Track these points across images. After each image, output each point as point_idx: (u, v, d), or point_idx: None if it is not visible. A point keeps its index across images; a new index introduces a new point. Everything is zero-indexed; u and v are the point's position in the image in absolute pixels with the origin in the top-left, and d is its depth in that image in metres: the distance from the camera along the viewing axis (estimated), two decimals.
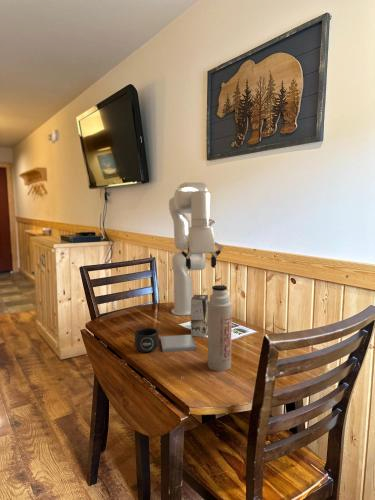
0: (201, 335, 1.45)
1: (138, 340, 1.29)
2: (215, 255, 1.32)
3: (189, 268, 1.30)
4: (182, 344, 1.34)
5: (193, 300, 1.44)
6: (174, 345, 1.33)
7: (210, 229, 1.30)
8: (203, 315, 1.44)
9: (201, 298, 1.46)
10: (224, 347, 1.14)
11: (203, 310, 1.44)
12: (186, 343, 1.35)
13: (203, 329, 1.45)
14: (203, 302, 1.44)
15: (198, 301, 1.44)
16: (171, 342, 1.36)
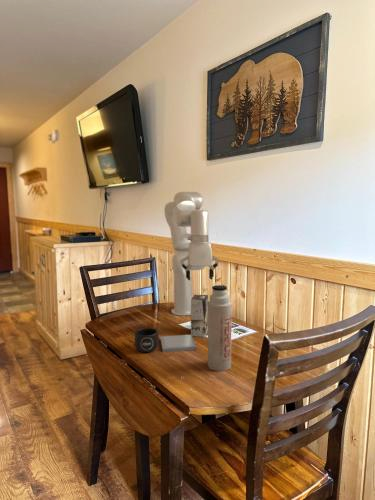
0: (201, 335, 1.45)
1: (138, 340, 1.29)
2: None
3: None
4: (182, 344, 1.34)
5: (193, 300, 1.44)
6: (174, 345, 1.33)
7: None
8: (203, 315, 1.44)
9: (201, 298, 1.46)
10: (224, 347, 1.14)
11: (203, 310, 1.44)
12: (186, 343, 1.35)
13: (203, 329, 1.45)
14: (203, 302, 1.44)
15: (198, 301, 1.44)
16: (171, 342, 1.36)
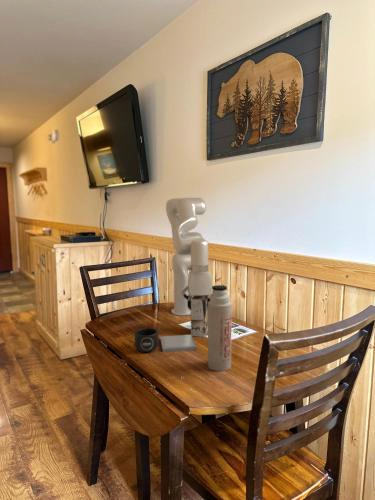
0: (201, 335, 1.45)
1: (138, 340, 1.29)
2: None
3: None
4: (182, 344, 1.34)
5: (193, 300, 1.44)
6: (174, 345, 1.33)
7: None
8: (203, 315, 1.44)
9: (201, 298, 1.46)
10: (224, 347, 1.14)
11: (203, 310, 1.44)
12: (186, 343, 1.35)
13: (203, 329, 1.45)
14: (203, 302, 1.44)
15: (198, 301, 1.44)
16: (171, 342, 1.36)
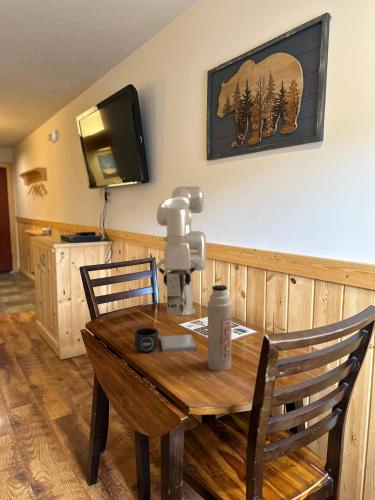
0: (178, 313, 1.31)
1: (138, 340, 1.29)
2: None
3: None
4: (182, 344, 1.34)
5: (169, 274, 1.30)
6: (174, 345, 1.33)
7: None
8: (180, 291, 1.30)
9: (178, 272, 1.32)
10: (224, 347, 1.14)
11: (180, 285, 1.30)
12: (186, 343, 1.35)
13: (180, 306, 1.31)
14: (180, 276, 1.30)
15: (175, 275, 1.30)
16: (171, 342, 1.36)
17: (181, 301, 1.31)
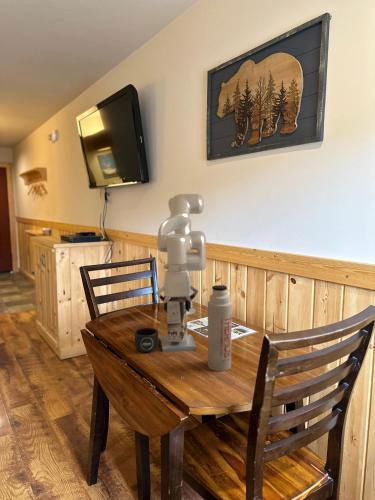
0: (178, 340, 1.33)
1: (138, 340, 1.29)
2: None
3: None
4: (182, 344, 1.34)
5: (169, 302, 1.32)
6: (174, 345, 1.33)
7: None
8: (180, 318, 1.32)
9: (178, 300, 1.33)
10: (224, 347, 1.14)
11: (180, 313, 1.31)
12: (186, 343, 1.35)
13: (180, 334, 1.32)
14: (180, 304, 1.31)
15: (175, 303, 1.31)
16: (171, 342, 1.36)
17: (181, 328, 1.32)
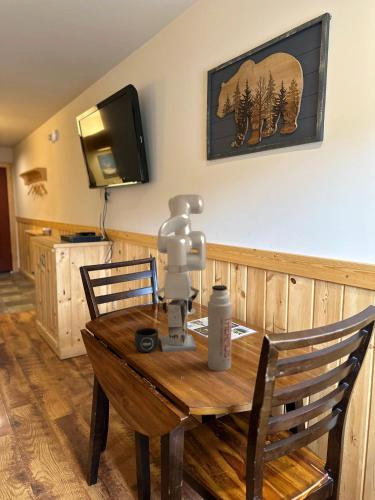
0: (179, 344, 1.33)
1: (138, 340, 1.29)
2: None
3: None
4: None
5: (170, 305, 1.32)
6: (174, 345, 1.33)
7: None
8: (181, 322, 1.32)
9: (179, 303, 1.33)
10: (224, 347, 1.14)
11: (181, 316, 1.32)
12: (186, 343, 1.35)
13: (182, 337, 1.33)
14: (181, 308, 1.31)
15: (176, 306, 1.32)
16: None
17: (182, 332, 1.32)
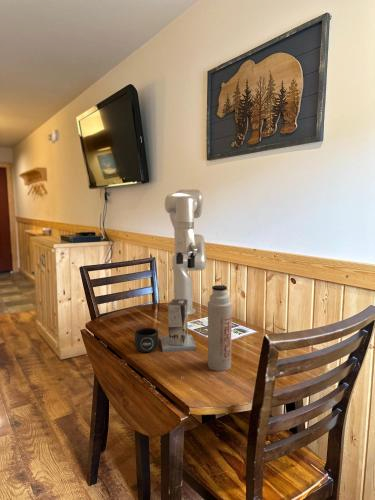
0: (179, 344, 1.33)
1: (138, 340, 1.29)
2: None
3: (194, 266, 1.44)
4: None
5: (170, 305, 1.32)
6: (174, 345, 1.33)
7: None
8: (181, 322, 1.32)
9: (179, 303, 1.33)
10: (224, 347, 1.14)
11: (181, 316, 1.32)
12: (186, 343, 1.35)
13: (182, 337, 1.33)
14: (181, 308, 1.31)
15: (176, 306, 1.32)
16: None
17: (182, 332, 1.32)
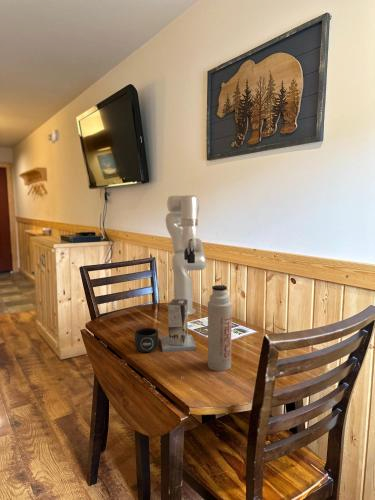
0: (179, 344, 1.33)
1: (138, 340, 1.29)
2: None
3: (194, 262, 1.50)
4: None
5: (170, 305, 1.32)
6: (174, 345, 1.33)
7: None
8: (181, 322, 1.32)
9: (179, 303, 1.33)
10: (224, 347, 1.14)
11: (181, 316, 1.32)
12: (186, 343, 1.35)
13: (182, 337, 1.33)
14: (181, 308, 1.31)
15: (176, 306, 1.32)
16: None
17: (182, 332, 1.32)
